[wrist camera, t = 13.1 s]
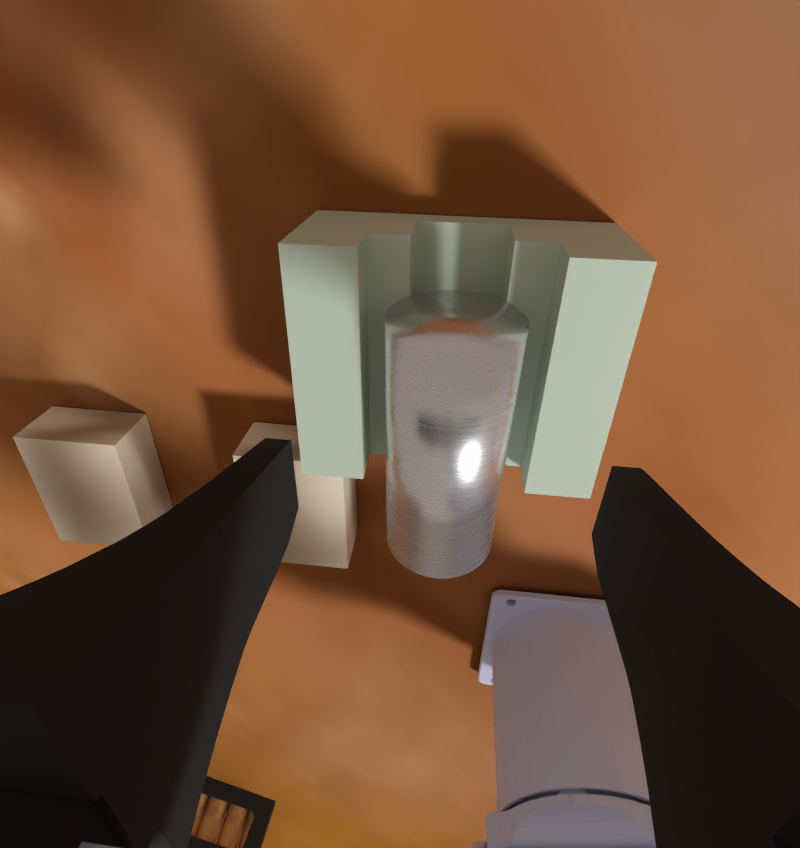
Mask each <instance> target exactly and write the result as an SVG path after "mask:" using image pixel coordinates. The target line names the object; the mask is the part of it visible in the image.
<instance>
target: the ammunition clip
mask: <svg viewBox="0 0 800 848" xmlns="http://www.w3.org/2000/svg"><path fill="white" fill-rule="evenodd" d="M205 805H206V807H205ZM274 806H275V801H274V800H271V799H268V798H265V797H263V796H260V795H257V794H254V793H252V792H249V791H246V790H243V789H241V788H238V787H235V786H232V785H230V784H227V783H224V782H221V781H219V780H216V779H213V778H210V777H208V776H206V778H205V782H204V785H203V789H202V793H201V797H200V801H199V805H198V809H197V813H196V817H195V820H194V824H193V828H192V832H191V836H190V840H189V844H188V848H237V845H238V842H239V839H240V836H241V839H240V842H239V845H238V848H261V847H262V844H263V841H264V838H265V834H266V831H267V828H268V825H269V822H270V818H271V815H272V812H273V809H274ZM204 808H205V810H204ZM203 811H204V813H203ZM226 811H227V812H226ZM225 812H226V815H225ZM202 813H203V816H202ZM224 815H225V818H224ZM201 816H202V818H201ZM223 818H224V821H223ZM200 819H201V821H200ZM245 820H246V822H245ZM222 821H223V824H222ZM199 822H200V824H199ZM244 823H245V825H244ZM198 824H199V827H198ZM221 824H222V827H221ZM243 826H244V829H243ZM197 827H198V829H197ZM220 827H221V830H220ZM242 829H243V832H242ZM196 830H197V832H196ZM219 830H220V833H219ZM195 832H196V835H195ZM241 832H242V835H241ZM218 833H219V836H218ZM194 835H195V837H194ZM217 836H218V839H217ZM216 839H217V842H216V844H215V841H216Z"/></svg>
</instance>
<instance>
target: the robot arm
mask: <svg viewBox="0 0 800 848" xmlns="http://www.w3.org/2000/svg"><path fill="white" fill-rule="evenodd" d="M298 508H299V505H298V496H297V488H296V479H295V470H294V461H293V453H292V444H291V440H284V439H272V438H265V439H263V440H262V441H261V442H259V443H258V444H257V445H256V446H254V447H253V448H252V449H250V450H249V451H248V452H247V453H245V454H244V455H243V456H242V457H240V458H239V459H238V460H237V461H235V462H234V463H233V464H232V465H230V466H229V467H228V468H227V469H225V470H224V471H223V472H221V473H220V474H219V475H217V476H216V477H215V478H214V479H212V480H211V481H210V482H208V483H207V484H206V485H204V486H203V487H202V488H200V489H199V490H197V491H196V492H195V493H193V494H192V495H190V496H189V497H187V498H186V499H185V500H183V501H182V502H180V503H179V504H177V505H176V506H175V507H173V508H172V509H170V510H169V511H167V512H166V513H164V514H163V515H161V516H160V517H158V518H157V519H155V520H153V521H152V522H150V523H149V524H147V525H145V526H144V527H142V528H140V529H138V530H137V531H135V532H133V533H132V534H130V535H128V536H126V537H125V538H123V539H121V540H119V541H117V542H116V543H114V544H112V545H110V546H108V547H106V548H104V549H102V550H100V551H98V552H96V553H94V554H92V555H90V556H88V557H86V558H84V559H82V560H80V561H78V562H76V563H74V564H72V565H70V566H68V567H66V568H64V569H61V570H59V571H57V572H55V573H52V574H50V575H48V576H46V577H43V578H41V579H39V580H36V581H34V582H32V583H29V584H27V585H24V586H22V587H19V588H17V589H14V590H12V591H10V592H7V593H4V594H2V595H0V848H188V844H189V840H190V836H191V832H192V828H193V824H194V820H195V817H196V813H197V809H198V805H199V801H200V797H201V793H202V789H203V785H204V782H205V778H206V774H207V771H208V767H209V764H210V760H211V756H212V753H213V749H214V746H215V742H216V738H217V735H218V731H219V728H220V725H221V721H222V718H223V715H224V711H225V708H226V705H227V701H228V698H229V695H230V691H231V688H232V685H233V682H234V679H235V676H236V672H237V669H238V666H239V663H240V660H241V657H242V654H243V651H244V648H245V645H246V642H247V640H248V637H249V635H250V632H251V630H252V627H253V625H254V623H255V620H256V618H257V616H258V613H259V611H260V609H261V607H262V604H263V602H264V600H265V597H266V595H267V593H268V591H269V588H270V586H271V584H272V581H273V579H274V577H275V575H276V572H277V570H278V568H279V565H280V563H281V561H282V558H283V556H284V554H285V551H286V549H287V546H288V543H289V540H290V537H291V533H292V530H293V527H294V523H295V519H296V516H297V512H298ZM592 539H593V546H594V554H595V560H596V567H597V573H598V577H599V581H600V585H601V588H602V592H603V595H604V599H605V600H600V599H590V598H580V597H570V596H560V595H550V594H540V593H530V592H520V591H511V590H496V591H494V592H493V593H492V595H491V600H490V606H489V612H488V618H487V623H486V629H485V635H484V641H483V647H482V653H481V658H480V664H479V670H478V680H479V681H480V682H481V683H483V684H487V685H493V704H494V731H495V757H496V783H497V809H498V812H497V813H488V814H487V815H486V828H487V841H477V842H475V843H474V844H473V845H472V846H471V848H800V608H799V607H798V606H797V605H795V604H794V603H793V602H791V601H790V600H788V599H787V598H786V597H784V596H783V595H782V594H780V593H779V592H778V591H776V590H775V589H774V588H772V587H771V586H770V585H769V584H767V583H766V582H765V581H763V580H762V579H761V578H760V577H758V576H757V575H756V574H755V573H754V572H752V571H751V570H750V569H749V568H748V567H746V566H745V565H744V564H743V563H742V562H741V561H739V560H738V559H737V558H736V557H735V556H734V555H732V554H731V553H730V552H729V551H728V550H727V549H725V548H724V547H723V546H722V545H721V544H720V543H719V542H718V541H716V540H715V539H714V538H713V537H712V536H711V535H710V534H709V533H708V532H707V531H706V530H705V529H703V528H702V527H701V526H700V525H699V524H698V523H697V522H696V521H695V520H694V519H693V518H692V517H691V516H690V515H689V514H688V513H687V512H686V511H685V510H684V509H683V508H682V507H681V506H680V505H679V504H678V503H677V502H675V501H674V500H673V499H672V498H671V497H670V496H669V495H668V494H667V493H666V492H665V491H664V490H663V489H662V488H661V487H660V486H659V485H658V484H657V483H656V482H655V481H654V480H653V479H652V478H651V477H650V476H649V475H648V474H647V473H646V472H645V471H644V470H642V469H641V468H631V467H618V466H612V469H611V472H610V475H609V479H608V482H607V485H606V489H605V492H604V495H603V499H602V502H601V505H600V509H599V512H598V515H597V519H596V522H595V525H594V529H593V532H592ZM509 599H513V600H509Z"/></svg>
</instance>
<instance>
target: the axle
mask: <svg viewBox="0 0 800 848" xmlns="http://www.w3.org/2000/svg"><path fill="white" fill-rule="evenodd" d="M528 332H529V321H528V319H527V317H526V316H525V314H524V313H523V312H522V311H521V310H520V309H519V308H517V307H516V306H514V305H512V304H511V303H509V302H507V301H505V300H502V299H500V298H497V297H494V296H490V295H487V294H482V293H477V292H471V291H461V290H438V291H428V292H423V293H418V294H414V295H411V296H408V297H405V298H403V299H401V300H399V301H397V302H396V303H394V304H393V305H392V306H391V307H390V308H389V309H388V310H387V312H386V314H385V421H386V528H387V543H388V546H389V549H390V551H391V553H392V554H393V556H394V557H395V558H396V560H397V561H398V562H399V563H400V564H402V565H403V566H404V567H406V568H407V569H409V570H410V571H412V572H414V573H417V574H419V575H422V576H425V577H430V578H438V579H448V578H455V577H459V576H463V575H465V574H468V573H470V572H471V571H473V570H475V569H476V568H478V567H479V566H480V565H481V564H482V563H483V562H484V561H485V559H486V558H487V556H488V554H489V552H490V548H491V544H492V538H493V532H494V527H495V521H496V515H497V509H498V504H499V498H500V492H501V487H502V481H503V475H504V469H505V464H506V458H507V452H508V446H509V441H510V435H511V429H512V424H513V418H514V412H515V406H516V401H517V395H518V389H519V383H520V378H521V372H522V366H523V361H524V355H525V349H526V343H527V338H528Z"/></svg>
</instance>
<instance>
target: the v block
mask: <svg viewBox="0 0 800 848" xmlns="http://www.w3.org/2000/svg"><path fill="white" fill-rule="evenodd" d="M278 249H279V259H280V268H281V278H282V287H283V297H284V306H285V316H286V325H287V335H288V344H289V354H290V363H291V373H292V382H293V392H294V402H295V411H296V421H297V430H298V440H299V449H300V459H301V468H302V474H309V475H320V476H332V477H344V478H355V479H363V478H364V475H365V471H366V467H367V463H368V460H369V456H370V454H374V455H386V421H385V314H386V312H387V310H388V309H389V308H390V307H391V306H392V305H393V304H394V303H396V302H397V301H399V300H401V299H403V298H405V297H408V296H411V295H414V294H418V293H423V292H428V291H438V290H461V291H471V292H477V293H482V294H487V295H490V296H494V297H497V298H500V299H502V300H505V301H507V302H509V303H511V304H512V305H514V306H516V307H517V308H519V309H520V310H521V311H522V312H523V313H524V314H525V316H526V317H527V319H528V321H529V332H528V338H527V343H526V349H525V355H524V361H523V366H522V372H521V378H520V383H519V389H518V395H517V401H516V406H515V412H514V418H513V424H512V429H511V435H510V441H509V446H508V452H507V458H506V464H505V465H509V466H521V471H522V479H523V486H524V493H530V494H542V495H553V496H565V497H577V498H588V499H590V497H591V493H592V490H593V486H594V483H595V479H596V476H597V472H598V469H599V465H600V462H601V458H602V455H603V451H604V448H605V444H606V441H607V437H608V433H609V430H610V426H611V423H612V419H613V416H614V412H615V409H616V405H617V402H618V398H619V395H620V391H621V388H622V384H623V381H624V377H625V374H626V370H627V366H628V363H629V359H630V356H631V352H632V349H633V345H634V342H635V338H636V335H637V331H638V328H639V324H640V321H641V317H642V314H643V310H644V307H645V303H646V299H647V296H648V292H649V289H650V285H651V282H652V278H653V275H654V271H655V268H656V264H657V261H656V260H655V259H654V258H653V257H652V256H651V255H650V254H649V253H648V252H646V251H645V250H644V249H643V248H642V247H641V246H640V245H639V244H638V243H637V242H636V241H635V240H634V239H633V238H632V237H631V236H630V235H629V234H628V233H627V232H625V231H624V230H623V229H622V228H621V227H620V226H619V225H618V224H617V223H606V222H583V221H560V220H537V219H514V218H490V217H467V216H444V215H421V214H398V213H375V212H352V211H329V210H317V211H316V212H315V213H314V214H312V215H311V216H310V217H309V218H308V219H306V220H305V221H304V222H303V223H301V224H300V225H299V226H298V227H297V228H295V229H294V230H293V231H292V232H291V233H289V234H288V235H287V236H286V237H285V238H283V239H282V240H281V241H280V242H279V243H278Z"/></svg>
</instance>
